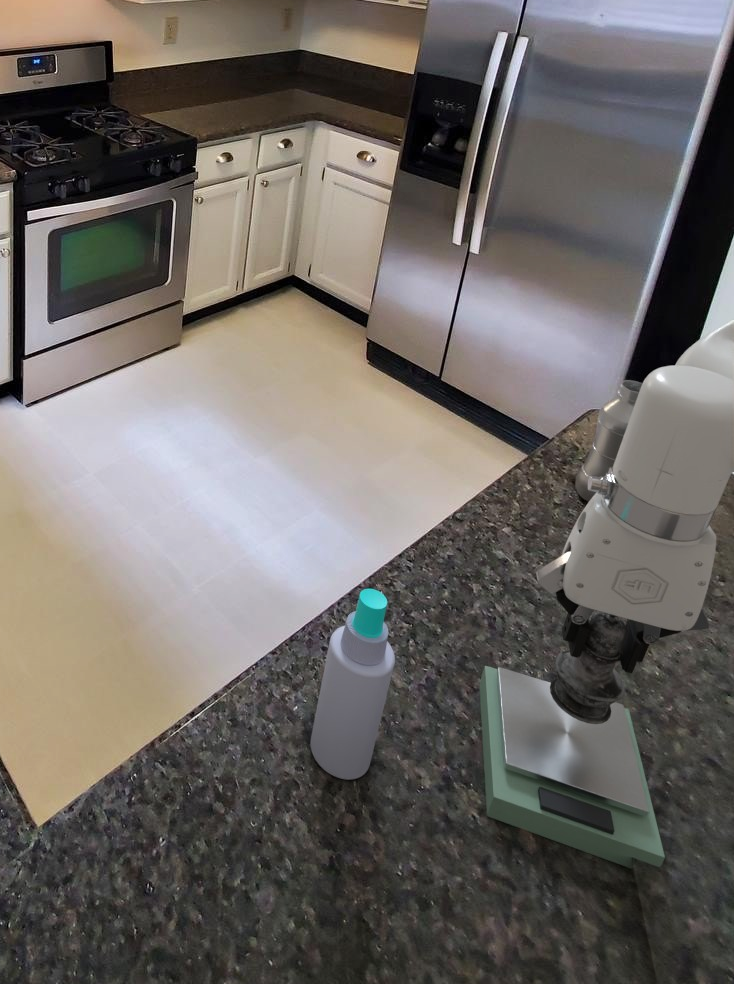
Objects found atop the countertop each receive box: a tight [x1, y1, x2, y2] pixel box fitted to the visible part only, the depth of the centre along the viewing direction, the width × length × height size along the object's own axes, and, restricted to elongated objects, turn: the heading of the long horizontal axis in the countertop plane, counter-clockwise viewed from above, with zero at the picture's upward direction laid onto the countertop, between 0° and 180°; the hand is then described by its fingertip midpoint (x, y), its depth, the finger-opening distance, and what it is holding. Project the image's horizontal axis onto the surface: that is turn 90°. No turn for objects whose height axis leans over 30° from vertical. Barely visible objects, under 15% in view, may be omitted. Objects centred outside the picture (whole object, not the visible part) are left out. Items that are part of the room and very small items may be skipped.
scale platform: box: [496, 666, 649, 817], centre depth 81 cm, size 12×12×1 cm
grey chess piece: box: [550, 611, 627, 724], centre depth 77 cm, size 6×6×12 cm
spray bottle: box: [310, 588, 396, 781], centre depth 79 cm, size 6×6×22 cm
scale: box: [478, 665, 666, 870], centre depth 81 cm, size 14×16×4 cm
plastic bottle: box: [574, 379, 643, 503], centre depth 116 cm, size 6×7×20 cm
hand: (598, 652), depth 76 cm, fingers closed on grey chess piece, 3 cm apart
